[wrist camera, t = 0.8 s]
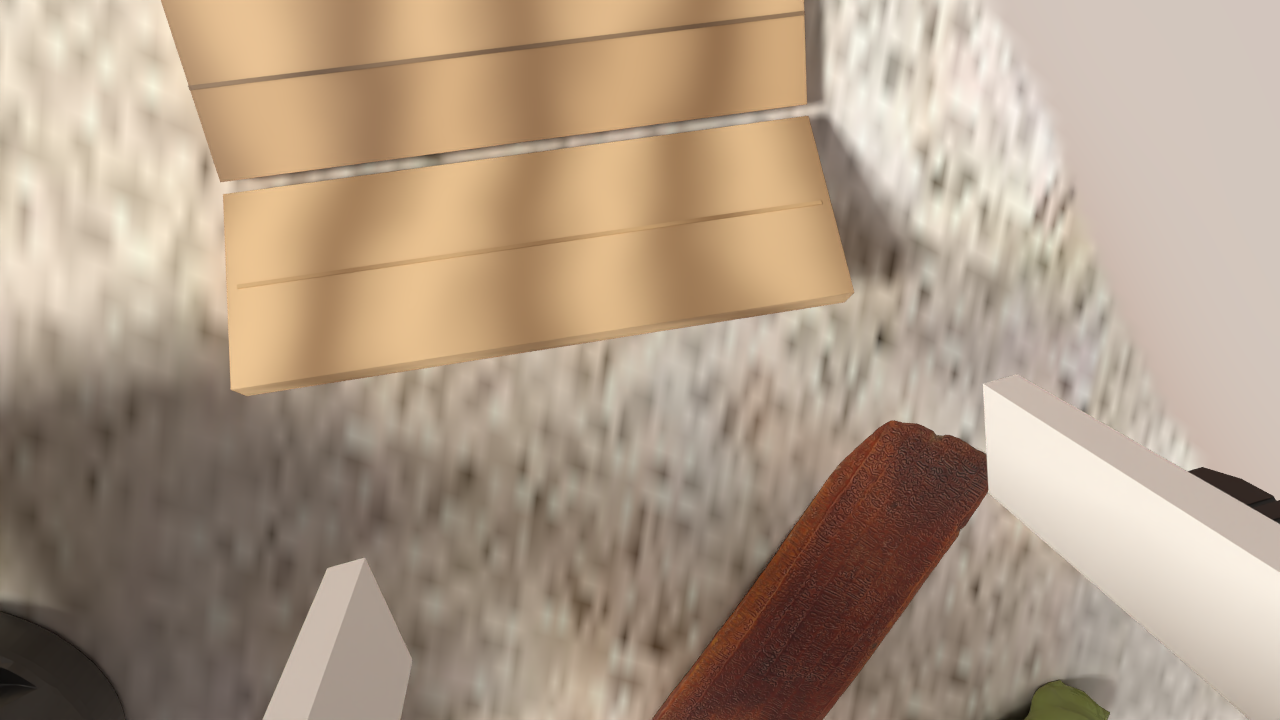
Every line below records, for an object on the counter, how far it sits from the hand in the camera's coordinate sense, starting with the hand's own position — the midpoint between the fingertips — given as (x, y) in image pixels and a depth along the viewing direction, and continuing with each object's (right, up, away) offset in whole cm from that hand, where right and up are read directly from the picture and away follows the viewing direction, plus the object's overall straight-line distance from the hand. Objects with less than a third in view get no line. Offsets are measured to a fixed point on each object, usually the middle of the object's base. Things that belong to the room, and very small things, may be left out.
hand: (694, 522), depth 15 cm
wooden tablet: (+9, -11, +27) cm, 31 cm away
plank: (-5, +8, +15) cm, 17 cm away
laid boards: (-6, +16, +14) cm, 22 cm away
